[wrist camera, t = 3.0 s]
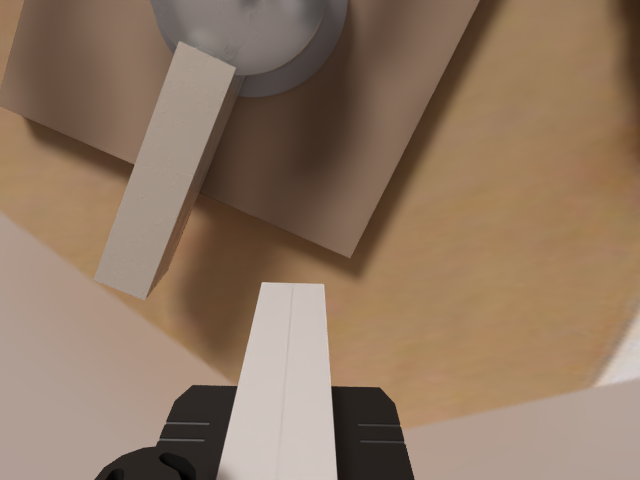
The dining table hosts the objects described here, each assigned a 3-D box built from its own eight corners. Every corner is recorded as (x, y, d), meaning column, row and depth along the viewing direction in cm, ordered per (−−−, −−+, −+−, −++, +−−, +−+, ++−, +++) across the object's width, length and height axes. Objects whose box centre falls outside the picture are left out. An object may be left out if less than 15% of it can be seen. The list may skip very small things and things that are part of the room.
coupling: (204, -126, 22) (181, -168, 19) (352, -49, 23) (359, -73, 19) (81, 233, 27) (42, 259, 23) (209, 286, 28) (192, 319, 24)
